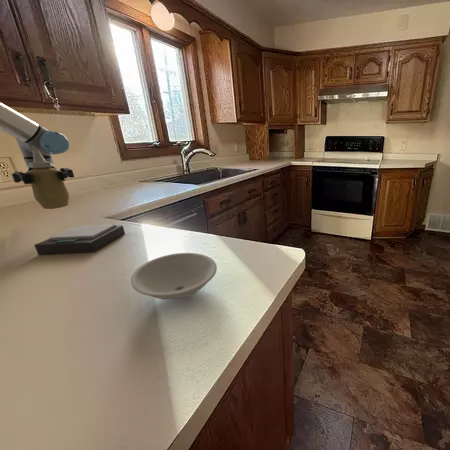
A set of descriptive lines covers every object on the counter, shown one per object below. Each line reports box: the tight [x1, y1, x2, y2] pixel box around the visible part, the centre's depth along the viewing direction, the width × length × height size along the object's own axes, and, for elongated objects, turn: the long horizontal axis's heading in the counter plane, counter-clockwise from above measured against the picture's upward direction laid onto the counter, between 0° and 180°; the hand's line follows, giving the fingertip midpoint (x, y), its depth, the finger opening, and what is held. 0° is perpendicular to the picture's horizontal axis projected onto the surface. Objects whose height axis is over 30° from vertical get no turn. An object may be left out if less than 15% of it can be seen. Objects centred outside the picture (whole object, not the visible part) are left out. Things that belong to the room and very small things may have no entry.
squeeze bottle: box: [28, 150, 70, 210], centre depth 77 cm, size 8×8×18 cm
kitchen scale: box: [33, 223, 126, 256], centre depth 74 cm, size 15×14×4 cm
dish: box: [130, 252, 218, 301], centre depth 48 cm, size 18×14×5 cm
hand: (45, 177), depth 73 cm, fingers closed on squeeze bottle, 6 cm apart
